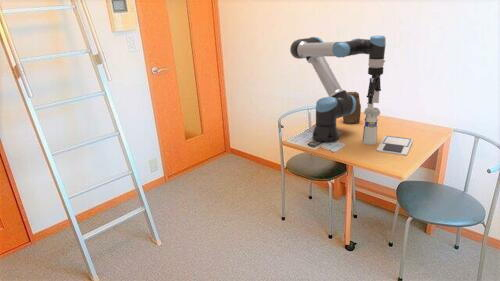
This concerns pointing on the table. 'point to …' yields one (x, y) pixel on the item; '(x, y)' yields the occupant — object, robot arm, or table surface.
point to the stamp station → (395, 145)
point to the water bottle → (370, 126)
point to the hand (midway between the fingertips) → (373, 106)
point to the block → (356, 114)
